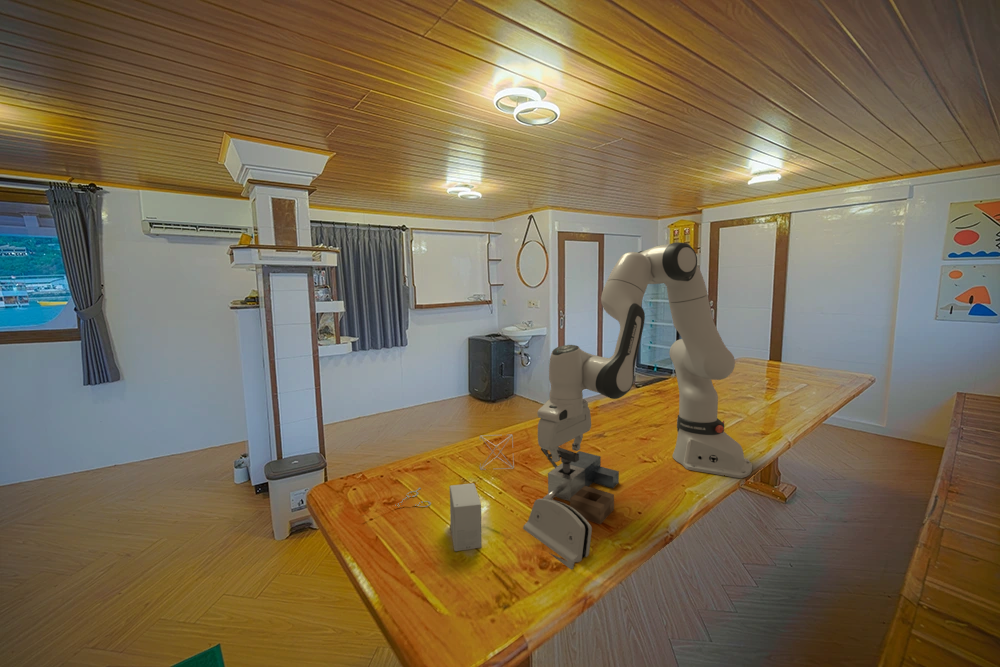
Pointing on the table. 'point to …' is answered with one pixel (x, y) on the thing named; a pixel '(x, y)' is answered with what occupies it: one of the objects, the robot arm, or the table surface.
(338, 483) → the table surface
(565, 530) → the grey curved-top slotted block
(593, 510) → the brown square ring block
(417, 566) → the table surface
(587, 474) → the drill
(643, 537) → the table surface
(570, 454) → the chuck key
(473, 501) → the skincare box
